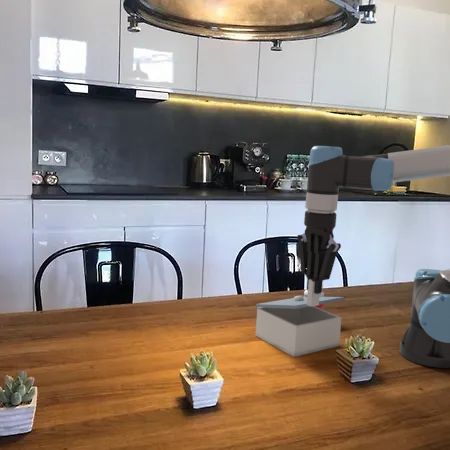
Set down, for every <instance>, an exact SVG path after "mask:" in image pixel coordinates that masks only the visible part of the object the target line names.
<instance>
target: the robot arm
mask: <svg viewBox="0 0 450 450" xmlns="http://www.w3.org/2000/svg"><path fill="white" fill-rule="evenodd" d="M307 169H308V170H307V171H308V172H307V173H308V174H307V183H306V185H307V187H306V196H305V205H304V207H305V209H306V211H304V221H303V225H304V226H305V227H306V228H305V230H304V232H303V233H302V234H297V236H296V239H297V241H298V245H299V257H300V258H299V259H300V268H301V269H300V270H301V274H302V275H304V276H305V277H306V280H307V281H306V289H307V291H308V295H307V305H308V306H317V305H319V298H320V293H321V292H322V291H323V288H322V284H323V282H324V281H326V280H327V281H328V280H330V279H331V275H332V271H333V268H334V264H335V261H336V257H337V254H338V252H339V251H340V249H341V248H342V245H341V243H339V242H338V243H337V242H336V241H335V240H334V238H335V236H334V232H333V231H334V229H335V228H336V223H337V213H336V211H337V210H338V201H339V192H340V191H339V189H340V188H342V189H343V188H344V189H347V188H348V189H355V190H356V189H357V190H366V191H367V190H368V191H369V190H370V191H375V192H379V191H380V192H381V191H383V192H384V191H385V192H387V191H388V192H389V191H390V190H391V189H392V187H393V183H399V182H400V183H401V182H411V181H417V180H426V179H434V178H435V179H436V178H442V177H443V178H444V177H450V144H448V145H441V146H433V147H427V148H424V147H423V148H419V149H418V148H417V149H412V150H404V151H395V152H388V153H380V154H373V155H362V156H350V155H344V153H343V148H342V147H340V146H327V145H313V147H312V148H311V149H310V152H309V161H308V168H307ZM413 282H414V283H413V284H414V285H413V291H412V299H411V301H412V302H411V309H410V317H409V325H408V326H407V329H406V331H405V332H404V334H403V336H402V338H401V340H400V343H399V349H398V350H399V351H398V352H399V354H400V355H401V356H402V357H403V358H405V359H406V360H407V361H411V362H413V363H414V364H415V363H416V364H418V365H422V366H424V367H425V366H426V367H430V368H437V369H450V268H449V269H444V270H442V269H432V268H431V269H429V268H420V269H418V270H417V271H416V272H415V277H414V278H413Z"/></svg>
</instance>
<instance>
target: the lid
mask: <svg viewBox="0 0 450 450" xmlns="http://www.w3.org/2000/svg"><path fill="white" fill-rule="evenodd" d="M344 300H345V297H344V296H324V297H320V298H319V305H320V304H323V305H325V304H330V303H336V302H342V301H344ZM260 307H265V308H290V309H297V308H303V307H309V306H308V305H307V297H304V295H296V296H294V297H292V298H287V299H285V298H284V299H280V300H278V299H277V300H273V301H268V302H261V303H256V304H255V308H260Z"/></svg>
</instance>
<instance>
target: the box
mask: <svg viewBox="0 0 450 450" xmlns="http://www.w3.org/2000/svg"><path fill="white" fill-rule="evenodd" d="M256 308H257V309H256V322H255V323H256V324H255V337H257V338H259V339H261V340H263V341H264V342H266V343H268V344H269V345H272V346H273V347H275V348H277V349H279V350H280V351H282V352H284V353H285V354H287V355H290V356H291V357H293V358H297V357H300V356H301V357H302V356H305V355H307V354H312V353H316V352H321V351H324V350H328V349H333V348H336V347H339V345H340V339H341V329H342V327H341V326H342V316H341V317H340V316H339V315H336V314H334V313H332V312H329V311H327V310H325V309H323V310H322V309H320V308H318V307H315V306H309V307H303V308H297V309H290V308H265V307H256Z"/></svg>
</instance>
